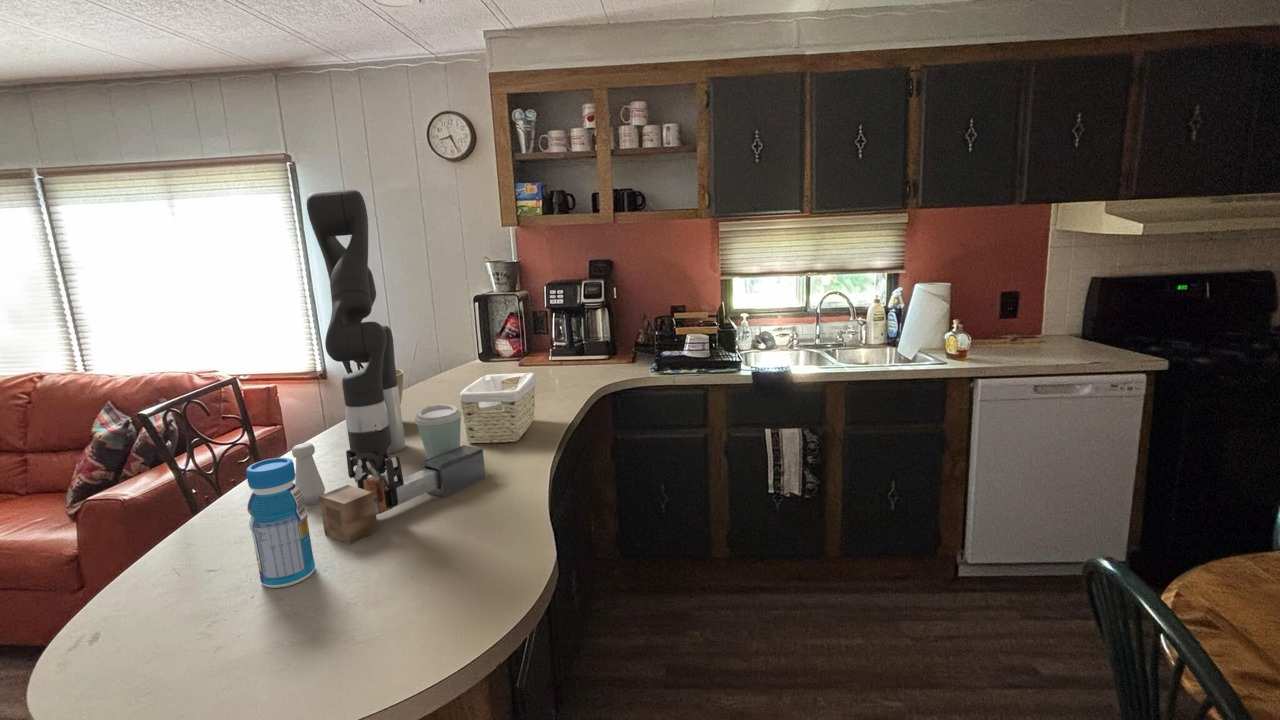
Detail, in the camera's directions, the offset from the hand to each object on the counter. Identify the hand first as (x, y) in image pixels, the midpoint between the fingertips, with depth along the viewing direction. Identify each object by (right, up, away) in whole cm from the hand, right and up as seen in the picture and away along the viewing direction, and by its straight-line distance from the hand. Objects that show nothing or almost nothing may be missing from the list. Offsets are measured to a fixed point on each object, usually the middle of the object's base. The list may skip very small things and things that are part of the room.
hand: (378, 502), depth 127 cm
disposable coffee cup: (+5, +2, +28) cm, 28 cm away
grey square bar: (+3, 0, +4) cm, 5 cm away
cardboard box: (-3, -5, -5) cm, 7 cm away
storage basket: (+13, +8, +55) cm, 57 cm away
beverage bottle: (-7, -8, -20) cm, 22 cm away
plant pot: (-26, +8, +67) cm, 72 cm away
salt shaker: (-19, -3, +11) cm, 22 cm away
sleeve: (+11, 0, +17) cm, 20 cm away
